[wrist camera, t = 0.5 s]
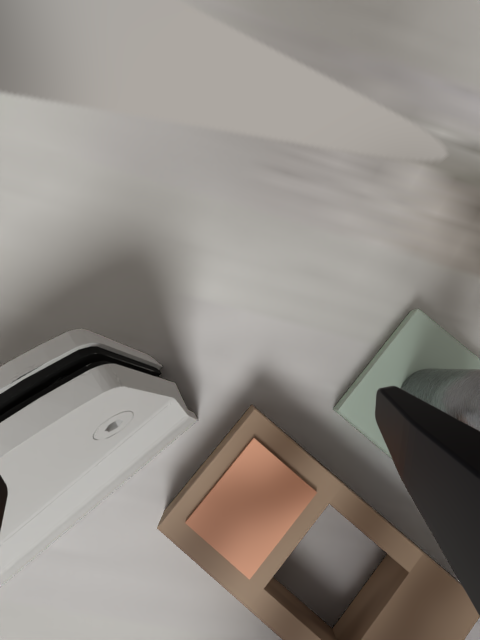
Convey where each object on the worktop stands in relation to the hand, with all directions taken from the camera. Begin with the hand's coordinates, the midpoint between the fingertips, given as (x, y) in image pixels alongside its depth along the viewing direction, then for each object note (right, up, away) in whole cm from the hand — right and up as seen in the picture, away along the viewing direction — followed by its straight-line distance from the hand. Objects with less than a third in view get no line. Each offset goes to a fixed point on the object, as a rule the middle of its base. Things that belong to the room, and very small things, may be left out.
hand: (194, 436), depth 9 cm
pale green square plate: (+12, -2, +15) cm, 20 cm away
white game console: (-10, -5, +14) cm, 18 cm away
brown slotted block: (+5, -11, +14) cm, 18 cm away
